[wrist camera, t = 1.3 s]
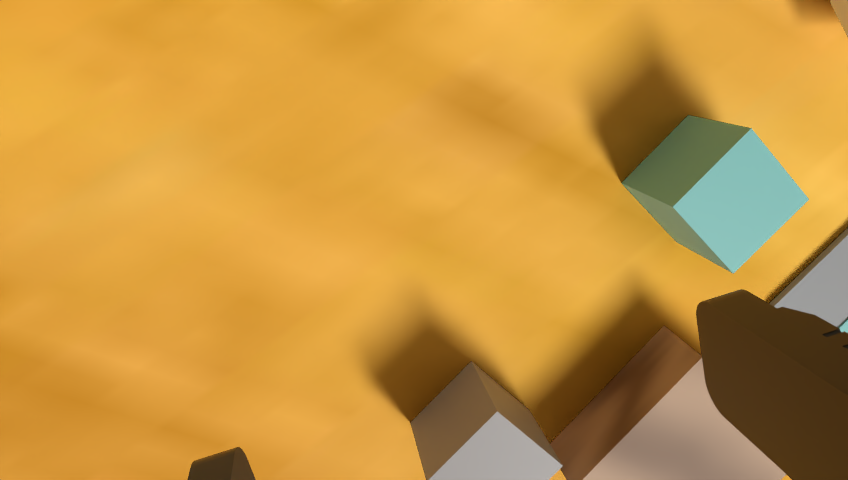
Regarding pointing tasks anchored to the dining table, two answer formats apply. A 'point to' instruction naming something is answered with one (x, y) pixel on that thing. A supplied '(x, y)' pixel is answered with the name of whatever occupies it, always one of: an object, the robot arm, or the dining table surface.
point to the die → (841, 12)
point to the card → (822, 286)
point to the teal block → (716, 190)
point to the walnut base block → (659, 425)
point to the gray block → (481, 434)
